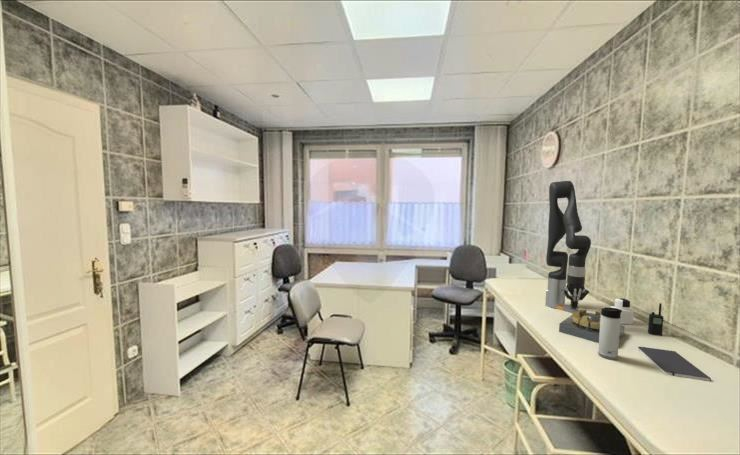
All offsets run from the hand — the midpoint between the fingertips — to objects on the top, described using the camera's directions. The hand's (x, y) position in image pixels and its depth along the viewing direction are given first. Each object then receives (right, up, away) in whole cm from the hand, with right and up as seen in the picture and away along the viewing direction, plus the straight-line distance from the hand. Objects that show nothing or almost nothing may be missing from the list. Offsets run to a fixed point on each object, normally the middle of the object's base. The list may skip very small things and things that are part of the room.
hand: (574, 307), depth 158 cm
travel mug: (-8, -11, -34) cm, 36 cm away
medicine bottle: (+27, -8, +4) cm, 28 cm away
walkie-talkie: (+31, -10, -12) cm, 34 cm away
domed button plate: (+1, -9, -11) cm, 14 cm away
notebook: (+12, -12, -38) cm, 42 cm away
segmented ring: (-1, -4, -8) cm, 9 cm away
